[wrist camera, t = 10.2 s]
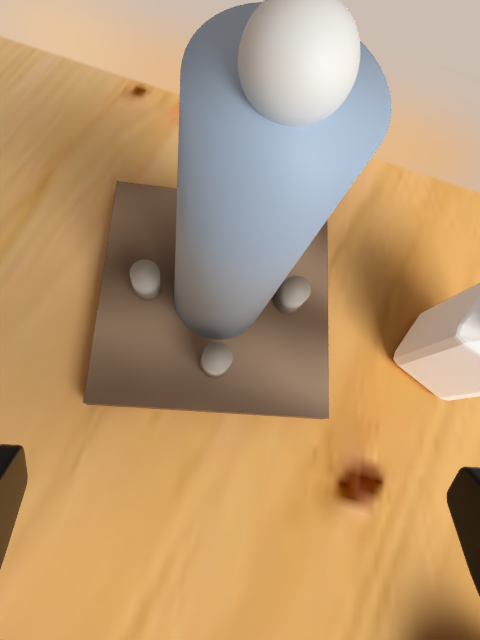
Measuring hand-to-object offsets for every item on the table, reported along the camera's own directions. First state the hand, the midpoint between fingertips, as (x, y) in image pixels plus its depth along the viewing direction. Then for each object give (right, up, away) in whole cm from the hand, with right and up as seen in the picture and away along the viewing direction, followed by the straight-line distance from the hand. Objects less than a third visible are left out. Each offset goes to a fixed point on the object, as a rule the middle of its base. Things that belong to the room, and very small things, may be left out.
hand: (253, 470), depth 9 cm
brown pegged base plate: (-2, +4, +15) cm, 15 cm away
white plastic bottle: (+11, +1, +16) cm, 19 cm away
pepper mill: (-1, +4, +14) cm, 14 cm away
